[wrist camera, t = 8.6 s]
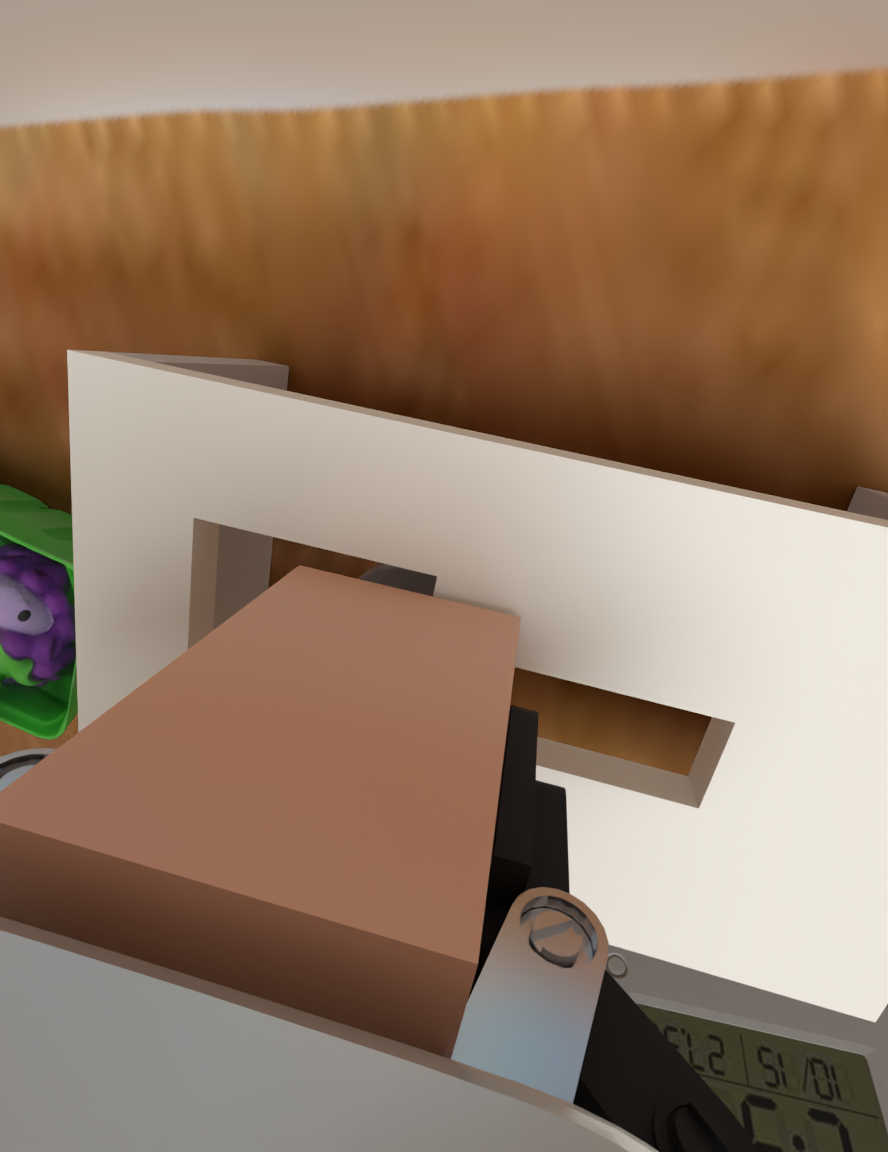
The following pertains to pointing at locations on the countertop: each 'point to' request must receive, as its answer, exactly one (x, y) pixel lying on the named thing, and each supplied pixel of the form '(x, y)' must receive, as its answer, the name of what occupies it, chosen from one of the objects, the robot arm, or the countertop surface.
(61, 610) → the fruit basket
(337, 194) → the countertop surface
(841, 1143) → the digital clock
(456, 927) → the peg
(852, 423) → the countertop surface
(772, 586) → the keyhole board
